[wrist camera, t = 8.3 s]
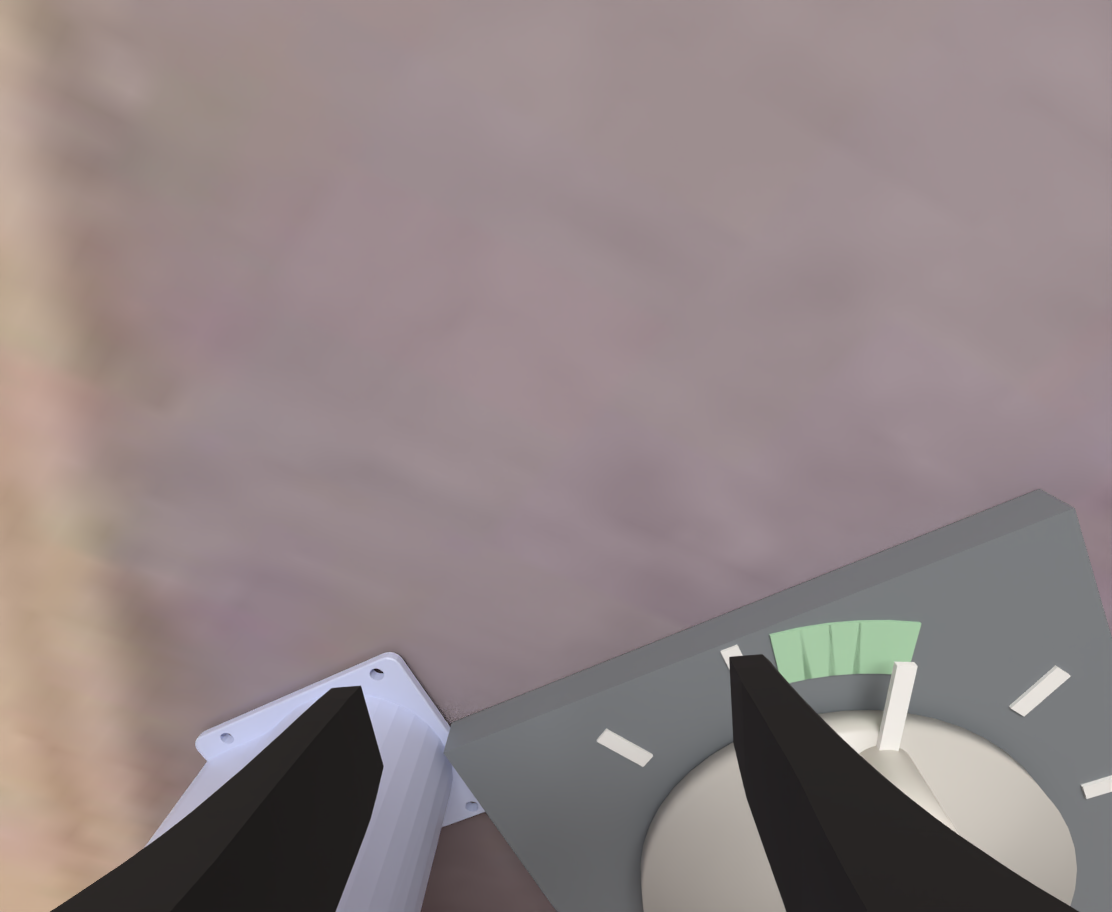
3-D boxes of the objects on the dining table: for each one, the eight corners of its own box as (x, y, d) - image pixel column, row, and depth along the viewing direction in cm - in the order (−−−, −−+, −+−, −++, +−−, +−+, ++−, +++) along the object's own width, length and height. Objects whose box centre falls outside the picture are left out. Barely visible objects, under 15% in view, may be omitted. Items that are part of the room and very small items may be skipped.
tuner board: (682, 1053, 30) (687, 1099, 28) (451, 722, 24) (442, 757, 22) (1172, 928, 26) (1211, 974, 24) (1039, 488, 20) (1079, 510, 18)
